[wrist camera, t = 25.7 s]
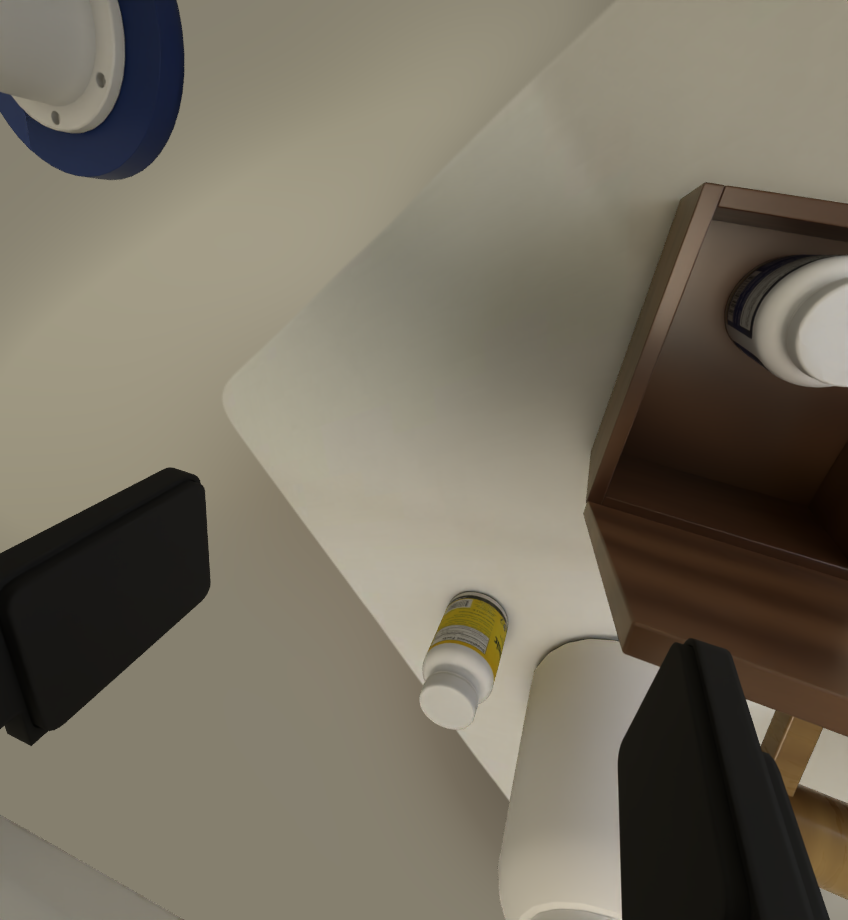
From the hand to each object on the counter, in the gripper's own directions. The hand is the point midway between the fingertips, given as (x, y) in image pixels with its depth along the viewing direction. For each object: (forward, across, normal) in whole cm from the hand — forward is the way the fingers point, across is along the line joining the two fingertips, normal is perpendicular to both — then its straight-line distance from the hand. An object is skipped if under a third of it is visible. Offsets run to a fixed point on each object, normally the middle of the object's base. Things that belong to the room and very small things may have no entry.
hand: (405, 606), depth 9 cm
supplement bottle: (+26, 0, +23) cm, 35 cm away
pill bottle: (+25, -12, -5) cm, 28 cm away
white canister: (+26, -12, +26) cm, 39 cm away
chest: (+26, -12, -2) cm, 28 cm away
